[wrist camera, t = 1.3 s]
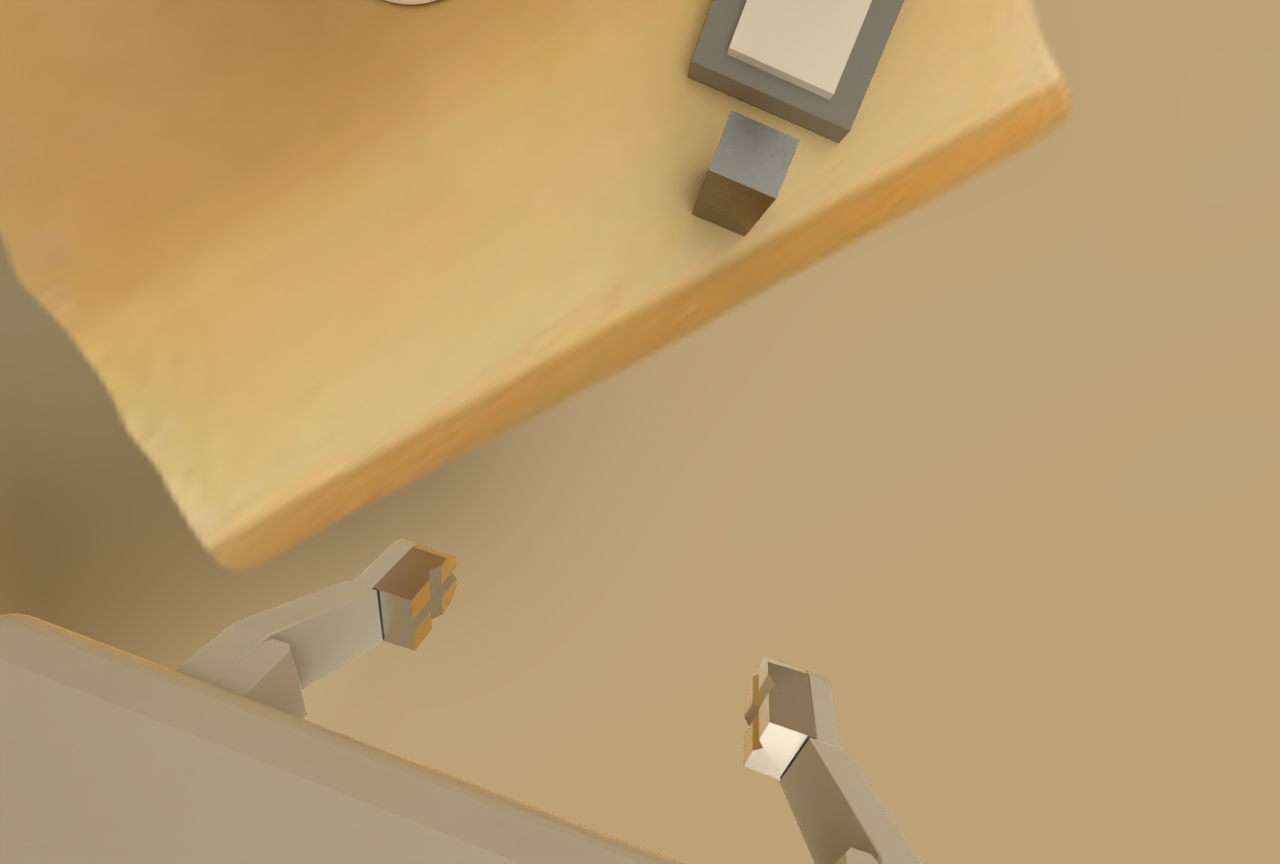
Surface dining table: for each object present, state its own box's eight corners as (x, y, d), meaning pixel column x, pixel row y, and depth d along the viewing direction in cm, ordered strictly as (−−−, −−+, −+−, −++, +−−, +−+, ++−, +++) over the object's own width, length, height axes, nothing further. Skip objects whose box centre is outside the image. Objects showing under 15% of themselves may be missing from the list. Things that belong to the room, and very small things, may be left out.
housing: (692, 214, 40) (708, 169, 31) (709, 168, 40) (731, 110, 31) (744, 236, 41) (776, 198, 32) (762, 191, 40) (799, 140, 31)
